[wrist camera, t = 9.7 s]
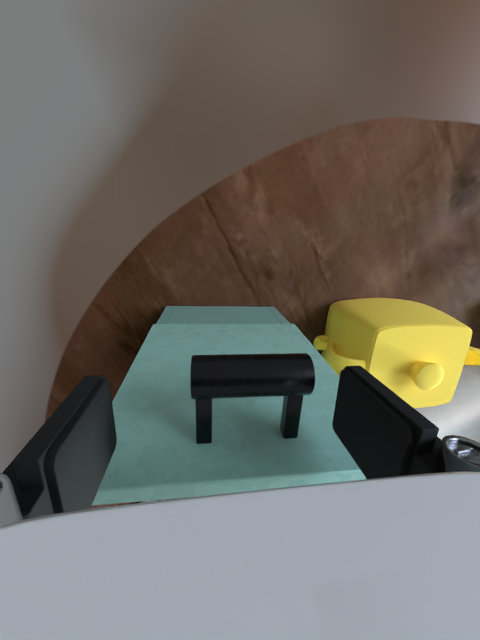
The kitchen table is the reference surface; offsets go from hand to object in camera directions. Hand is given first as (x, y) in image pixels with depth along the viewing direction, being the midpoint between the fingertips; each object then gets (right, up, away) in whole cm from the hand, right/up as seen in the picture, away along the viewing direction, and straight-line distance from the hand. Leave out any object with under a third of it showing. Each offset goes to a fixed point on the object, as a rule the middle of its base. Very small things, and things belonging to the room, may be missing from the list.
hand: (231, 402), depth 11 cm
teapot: (+19, +1, +28) cm, 34 cm away
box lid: (0, -1, +8) cm, 8 cm away
